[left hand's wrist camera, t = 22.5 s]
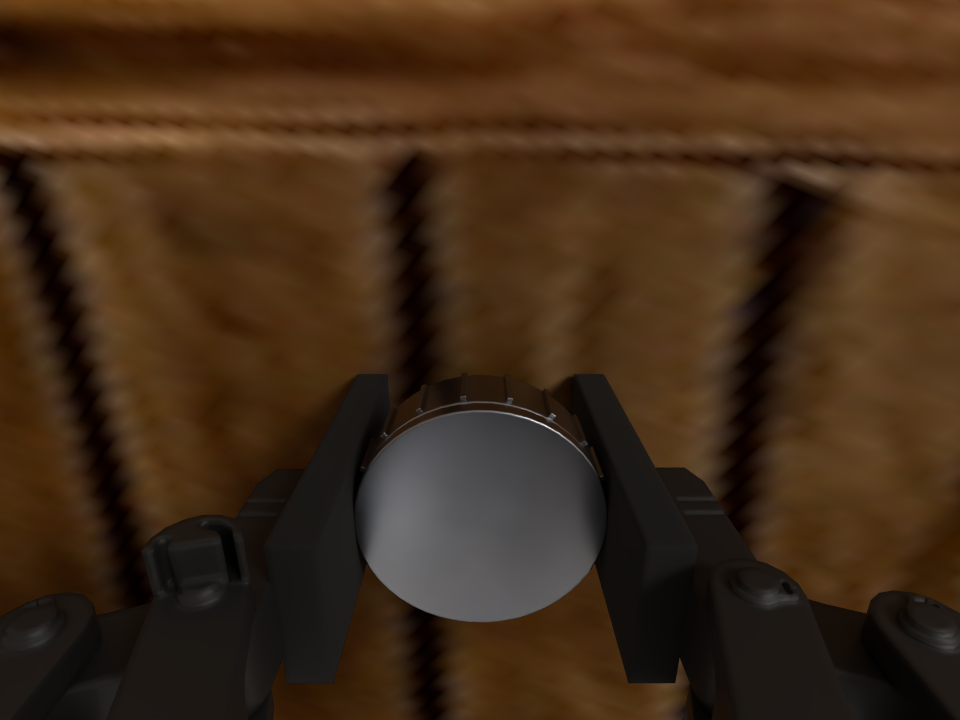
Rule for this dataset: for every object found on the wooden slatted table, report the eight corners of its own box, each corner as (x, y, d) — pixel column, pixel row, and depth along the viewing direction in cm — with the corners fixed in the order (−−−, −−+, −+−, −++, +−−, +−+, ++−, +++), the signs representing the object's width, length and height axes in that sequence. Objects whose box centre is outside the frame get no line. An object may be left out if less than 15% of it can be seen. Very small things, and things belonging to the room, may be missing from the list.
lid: (352, 547, 13) (334, 603, 11) (386, 347, 11) (371, 380, 9) (559, 584, 13) (570, 643, 12) (624, 396, 11) (647, 436, 10)
